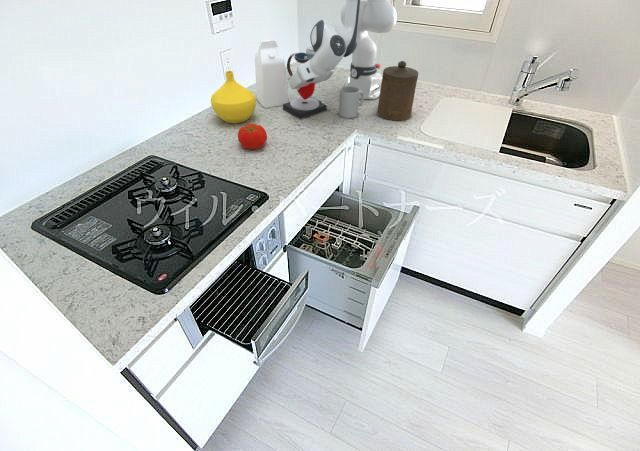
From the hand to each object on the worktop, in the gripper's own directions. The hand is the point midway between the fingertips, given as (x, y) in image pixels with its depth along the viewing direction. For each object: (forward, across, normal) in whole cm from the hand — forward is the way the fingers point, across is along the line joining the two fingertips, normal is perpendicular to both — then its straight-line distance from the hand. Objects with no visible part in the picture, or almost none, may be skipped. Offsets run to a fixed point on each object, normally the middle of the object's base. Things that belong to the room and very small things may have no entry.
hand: (303, 87), depth 147 cm
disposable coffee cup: (+29, -32, -14) cm, 45 cm away
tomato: (-3, +36, +18) cm, 40 cm away
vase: (+15, +29, 0) cm, 32 cm away
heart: (+4, 0, +4) cm, 6 cm away
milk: (+19, +6, -4) cm, 20 cm away
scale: (+7, 0, +8) cm, 10 cm away
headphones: (+26, -20, -12) cm, 35 cm away
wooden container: (-13, -29, +27) cm, 42 cm away
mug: (-4, -14, +19) cm, 24 cm away
